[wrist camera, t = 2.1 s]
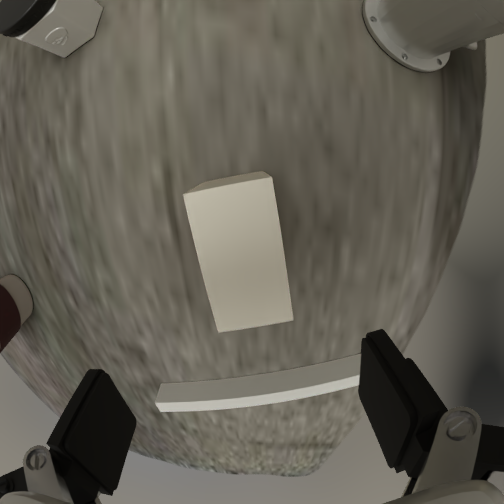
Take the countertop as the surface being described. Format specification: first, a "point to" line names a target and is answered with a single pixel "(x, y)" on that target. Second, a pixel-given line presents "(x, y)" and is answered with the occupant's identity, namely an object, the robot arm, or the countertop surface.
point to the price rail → (260, 387)
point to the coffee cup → (13, 307)
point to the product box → (240, 250)
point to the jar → (50, 23)
